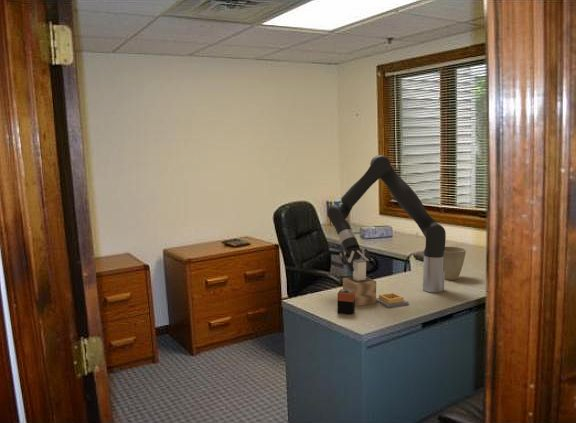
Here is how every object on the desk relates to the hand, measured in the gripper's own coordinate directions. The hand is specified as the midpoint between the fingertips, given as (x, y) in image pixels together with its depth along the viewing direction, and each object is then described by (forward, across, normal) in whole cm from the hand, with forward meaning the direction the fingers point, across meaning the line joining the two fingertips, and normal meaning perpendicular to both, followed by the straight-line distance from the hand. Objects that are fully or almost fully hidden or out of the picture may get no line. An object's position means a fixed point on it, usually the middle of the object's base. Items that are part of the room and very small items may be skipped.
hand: (361, 270), depth 220 cm
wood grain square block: (+9, 0, +11) cm, 15 cm away
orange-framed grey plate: (+15, +12, +5) cm, 20 cm away
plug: (+2, 0, +4) cm, 5 cm away
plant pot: (0, +65, +21) cm, 68 cm away
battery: (+18, -14, +3) cm, 23 cm away
